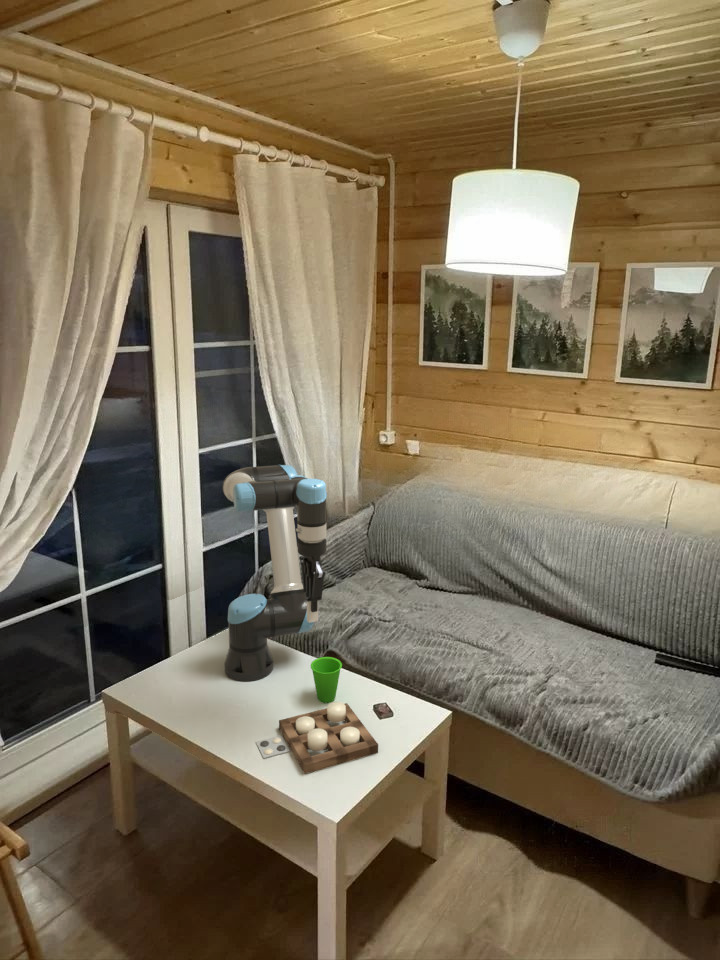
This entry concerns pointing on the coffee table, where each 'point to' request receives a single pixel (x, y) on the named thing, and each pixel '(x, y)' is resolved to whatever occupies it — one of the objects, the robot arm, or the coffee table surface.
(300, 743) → the board
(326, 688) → the cup
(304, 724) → the button back right
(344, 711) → the button back left
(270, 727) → the coffee table surface
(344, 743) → the button front left
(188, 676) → the coffee table surface
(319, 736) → the button front right
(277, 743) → the card
